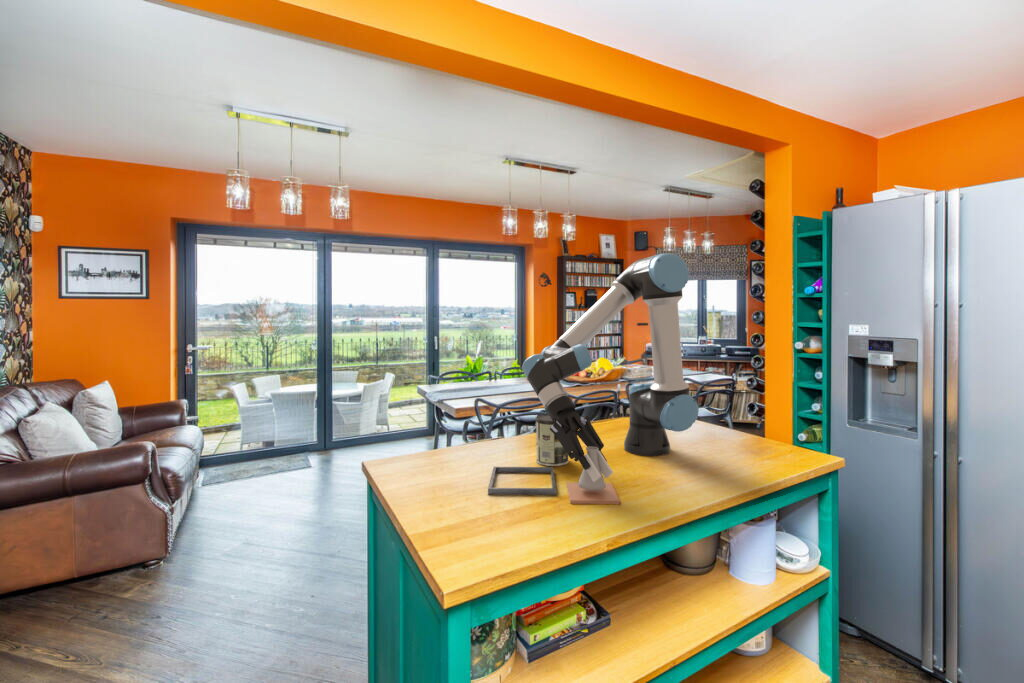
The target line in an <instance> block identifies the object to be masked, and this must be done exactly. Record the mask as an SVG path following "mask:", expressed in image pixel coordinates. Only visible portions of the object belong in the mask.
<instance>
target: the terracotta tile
mask: <svg viewBox="0 0 1024 683" xmlns="http://www.w3.org/2000/svg"><path fill="white" fill-rule="evenodd" d="M605 485H606V487H605V488H604V489H602V490H588V489H583V488H580V487H579V485H578V482H566V488H567V492H568V498H569V502H570V504H574V505H575V504H576V505H577V504H580V505H581V504H582V505H584V504H585V505H588V504H592V505H594V504H596V505H597V504H598V505H599V504H600V505H620V504H621V500H620V498H619V496H618V494H617V492H616V490H615V488H614V486H613V483H611V482H605Z"/></svg>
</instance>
